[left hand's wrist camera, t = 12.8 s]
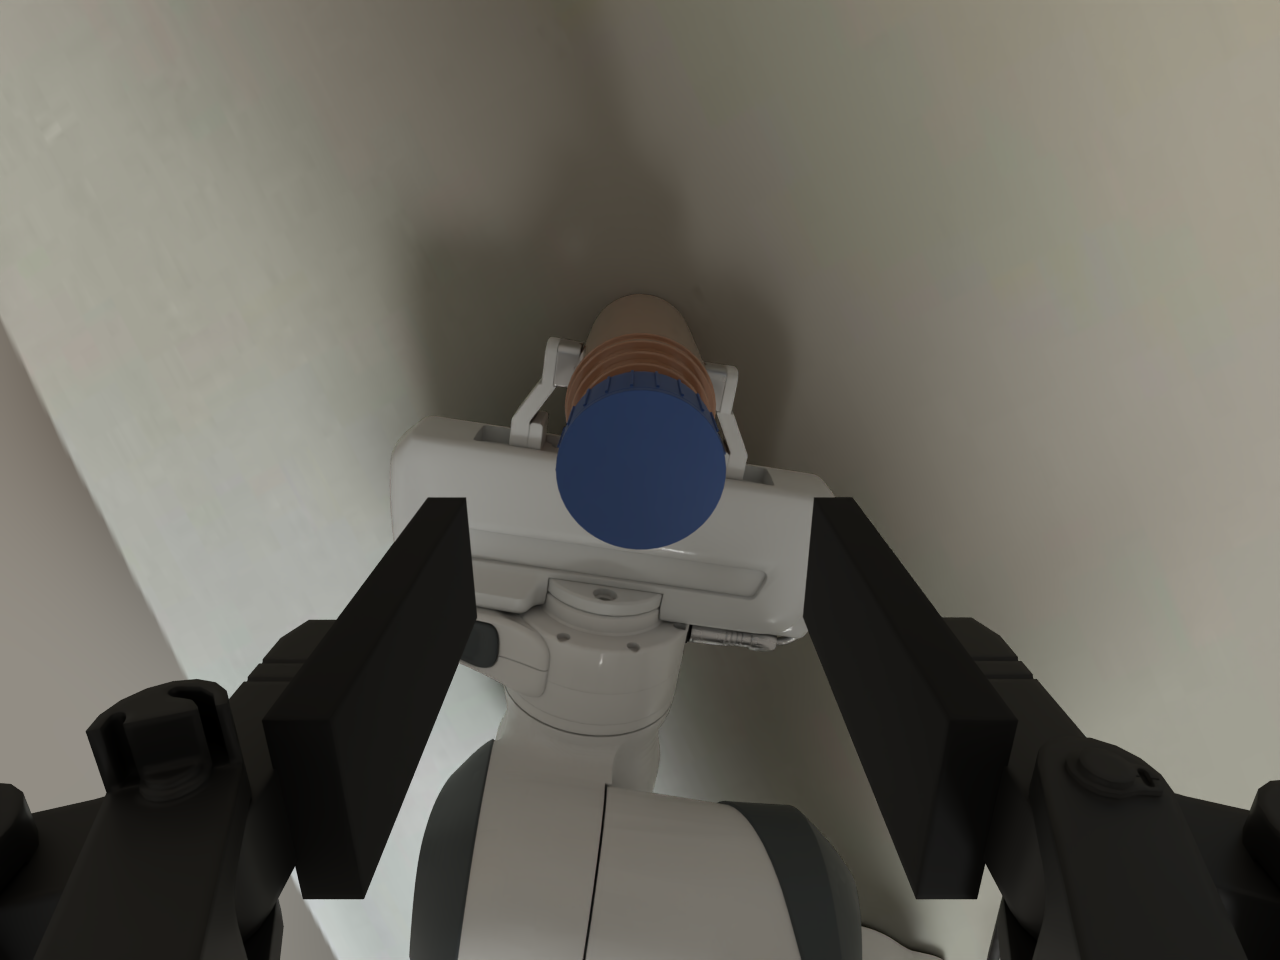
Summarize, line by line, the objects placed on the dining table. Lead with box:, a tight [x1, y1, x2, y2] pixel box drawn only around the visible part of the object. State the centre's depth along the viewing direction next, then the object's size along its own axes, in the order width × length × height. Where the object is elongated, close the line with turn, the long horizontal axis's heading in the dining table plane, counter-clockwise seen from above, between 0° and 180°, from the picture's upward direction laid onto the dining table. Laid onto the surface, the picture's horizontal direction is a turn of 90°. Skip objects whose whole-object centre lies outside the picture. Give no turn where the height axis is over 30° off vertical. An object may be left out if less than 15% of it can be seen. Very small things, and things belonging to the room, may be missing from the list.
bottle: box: [565, 294, 716, 423], centre depth 28 cm, size 5×5×19 cm
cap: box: [555, 370, 726, 550], centre depth 20 cm, size 5×5×2 cm
